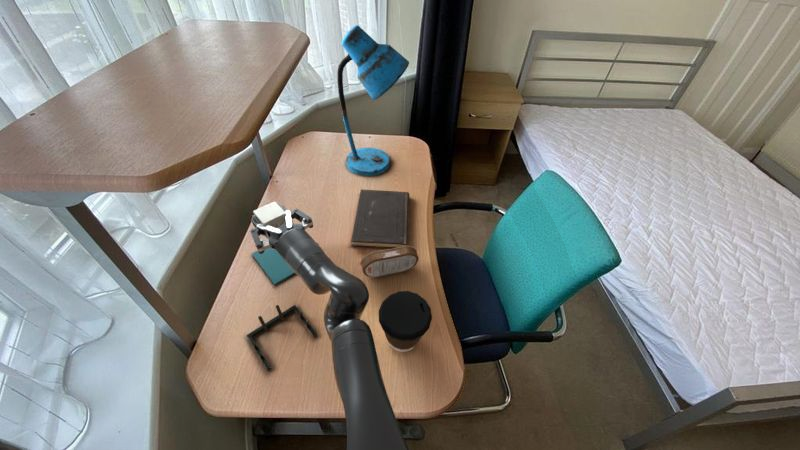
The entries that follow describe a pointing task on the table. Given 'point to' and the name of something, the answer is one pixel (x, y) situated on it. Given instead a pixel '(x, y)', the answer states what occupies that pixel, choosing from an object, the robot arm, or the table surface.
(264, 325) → the rack
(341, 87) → the desk lamp
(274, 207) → the container
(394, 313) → the coffee cup
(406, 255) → the tin
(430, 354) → the table surface
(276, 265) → the mat
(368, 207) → the hardcover book
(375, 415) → the robot arm
